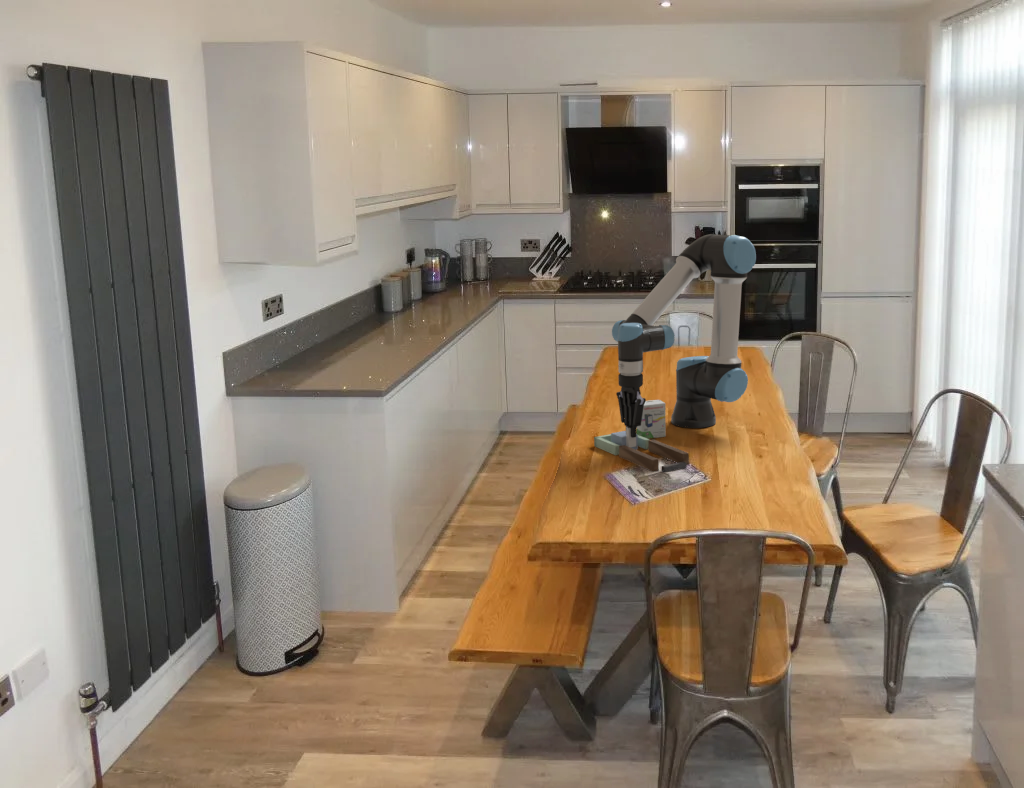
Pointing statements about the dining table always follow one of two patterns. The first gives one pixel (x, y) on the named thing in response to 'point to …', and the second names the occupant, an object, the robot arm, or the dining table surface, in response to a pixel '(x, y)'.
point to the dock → (613, 448)
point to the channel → (655, 448)
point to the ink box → (653, 420)
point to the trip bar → (674, 466)
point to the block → (622, 439)
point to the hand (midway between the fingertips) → (631, 446)
